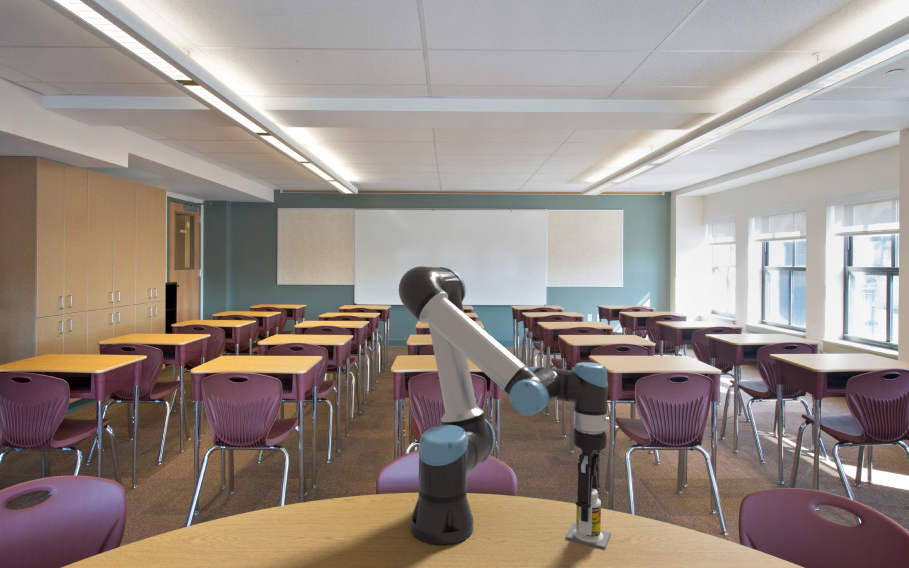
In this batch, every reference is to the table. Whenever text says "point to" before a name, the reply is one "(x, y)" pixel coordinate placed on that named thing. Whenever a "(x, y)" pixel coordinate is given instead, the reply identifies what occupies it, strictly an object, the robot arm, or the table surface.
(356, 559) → the table surface
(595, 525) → the supplement bottle
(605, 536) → the seat plate
